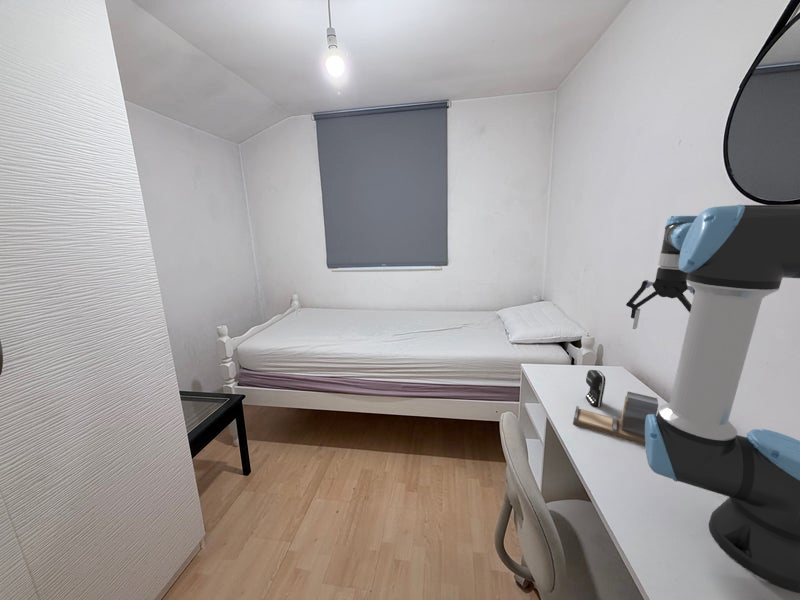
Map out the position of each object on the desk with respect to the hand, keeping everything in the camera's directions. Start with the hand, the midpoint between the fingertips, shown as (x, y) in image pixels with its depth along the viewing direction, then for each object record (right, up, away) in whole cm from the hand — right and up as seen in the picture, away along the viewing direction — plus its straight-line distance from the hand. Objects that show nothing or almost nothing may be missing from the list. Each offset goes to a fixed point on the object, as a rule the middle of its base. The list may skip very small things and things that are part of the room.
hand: (660, 333), depth 104 cm
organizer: (-18, -29, -5) cm, 35 cm away
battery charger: (-16, -26, +10) cm, 32 cm away
